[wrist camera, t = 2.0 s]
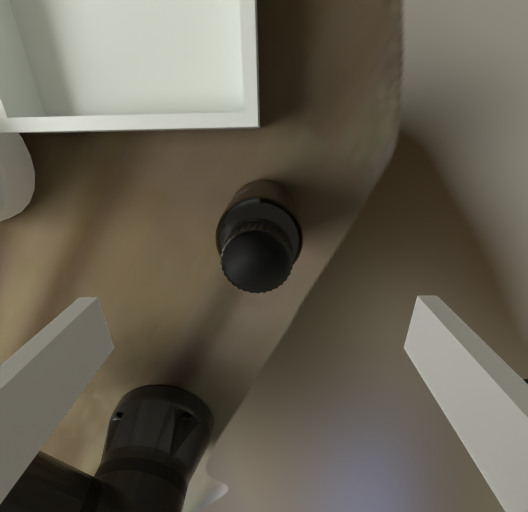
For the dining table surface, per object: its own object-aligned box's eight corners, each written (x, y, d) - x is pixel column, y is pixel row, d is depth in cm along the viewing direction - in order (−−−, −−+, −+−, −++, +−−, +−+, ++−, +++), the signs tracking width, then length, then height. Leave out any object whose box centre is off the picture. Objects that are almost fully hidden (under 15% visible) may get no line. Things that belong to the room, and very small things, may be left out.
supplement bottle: (235, 172, 26) (212, 197, 15) (302, 187, 27) (325, 222, 16) (224, 235, 29) (198, 295, 18) (285, 248, 30) (295, 314, 19)
